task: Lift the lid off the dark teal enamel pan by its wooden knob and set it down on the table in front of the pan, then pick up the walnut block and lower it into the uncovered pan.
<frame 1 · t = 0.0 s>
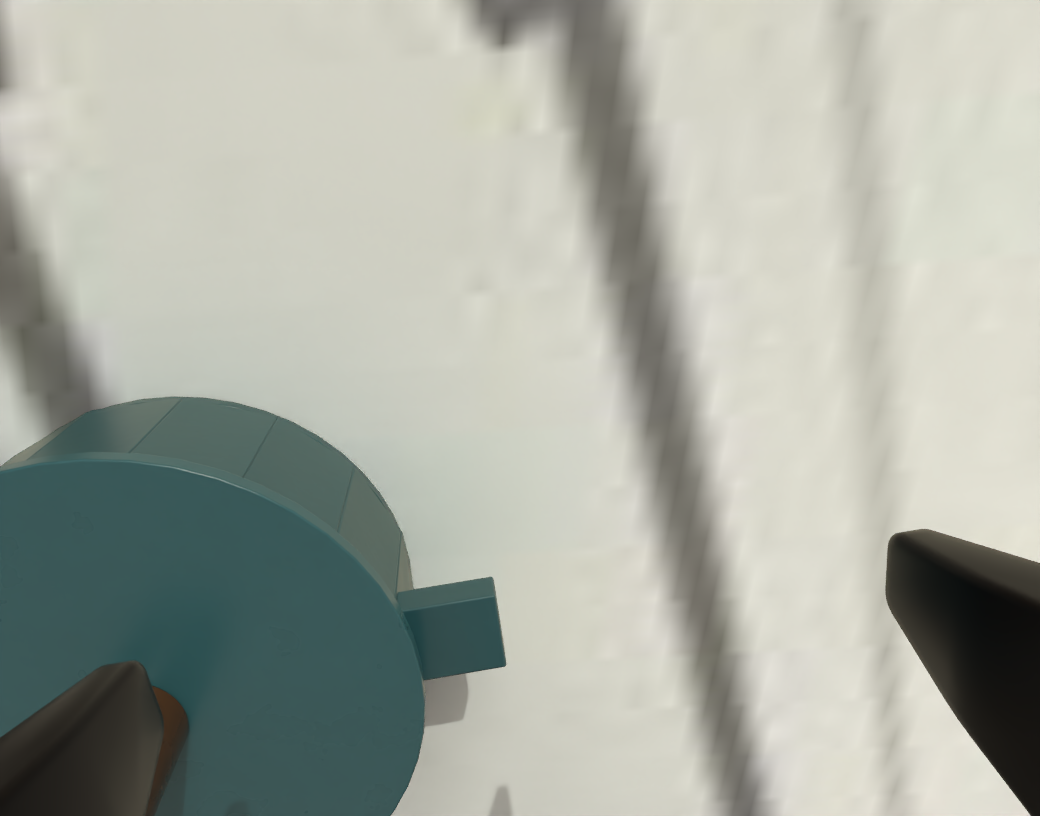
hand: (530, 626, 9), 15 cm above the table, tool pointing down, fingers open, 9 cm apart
pan: (203, 592, 25), on the table
lid: (143, 709, 20), point 5 cm above the table, touching pan
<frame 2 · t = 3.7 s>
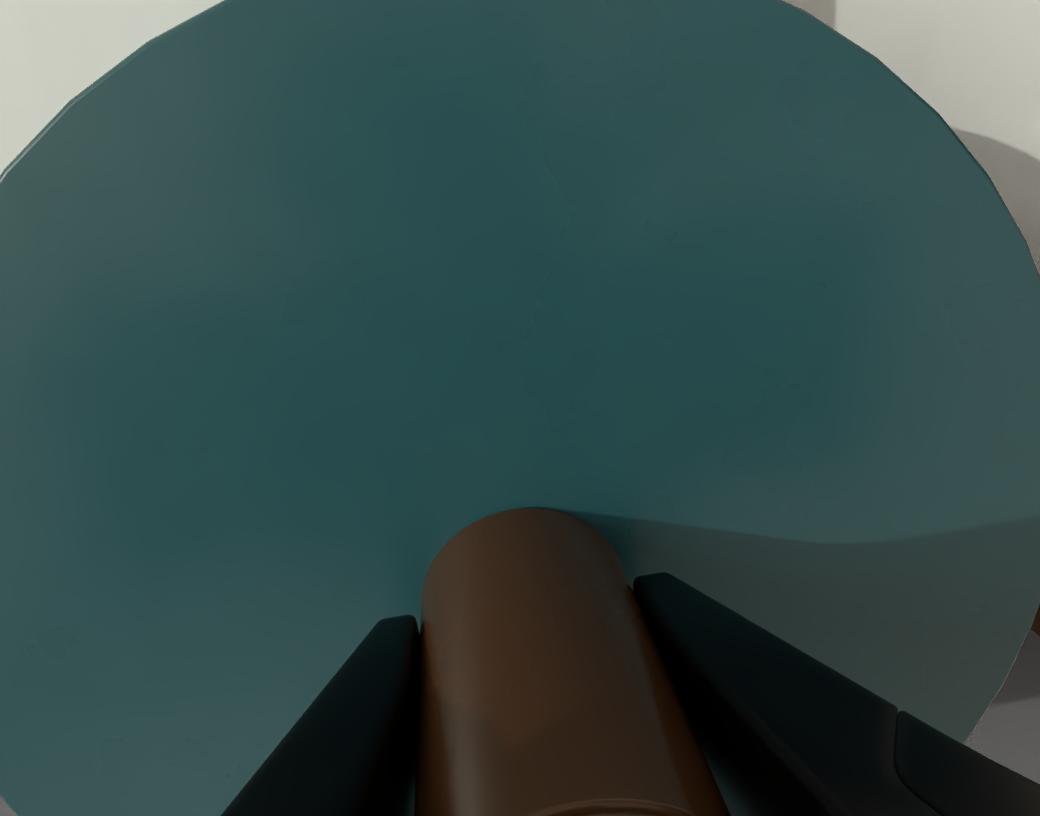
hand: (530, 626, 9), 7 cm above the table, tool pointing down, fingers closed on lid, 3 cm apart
lid: (519, 576, 10), point 5 cm above the table, touching gripper, pan
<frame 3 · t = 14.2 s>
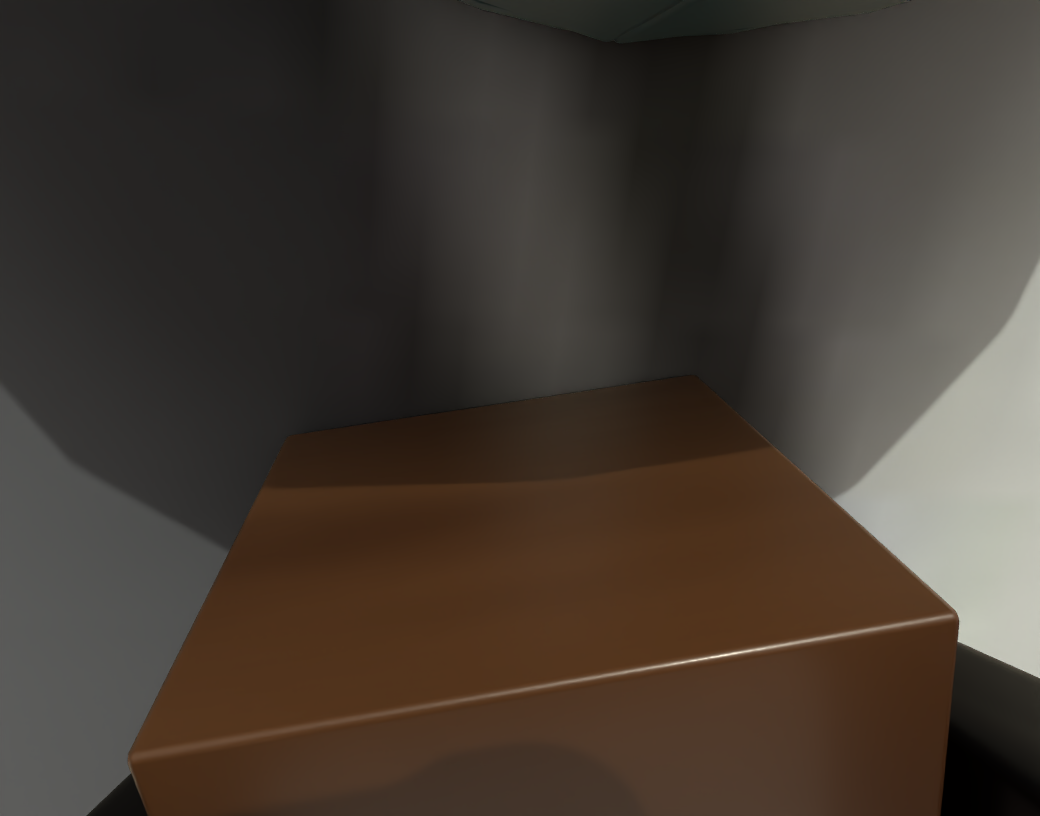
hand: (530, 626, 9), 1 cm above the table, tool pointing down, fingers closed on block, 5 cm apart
block: (519, 579, 10), on the table, touching gripper
when the fingers open (2 cm above the table, at t = 20.7 s): block stays where it is, resting on pan.
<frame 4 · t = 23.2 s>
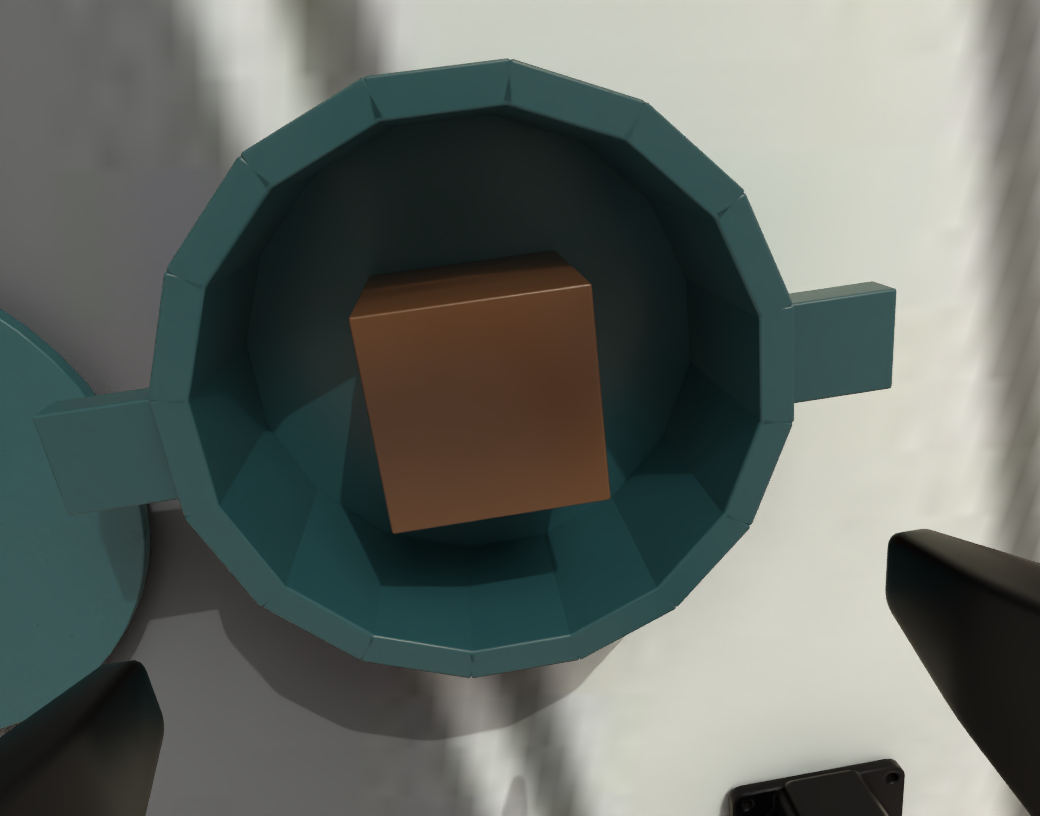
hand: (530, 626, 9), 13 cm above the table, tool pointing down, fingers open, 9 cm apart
pan: (475, 347, 21), on the table
block: (475, 352, 21), resting on pan
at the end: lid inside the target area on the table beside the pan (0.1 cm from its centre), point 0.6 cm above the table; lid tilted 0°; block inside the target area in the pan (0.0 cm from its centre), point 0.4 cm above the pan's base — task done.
